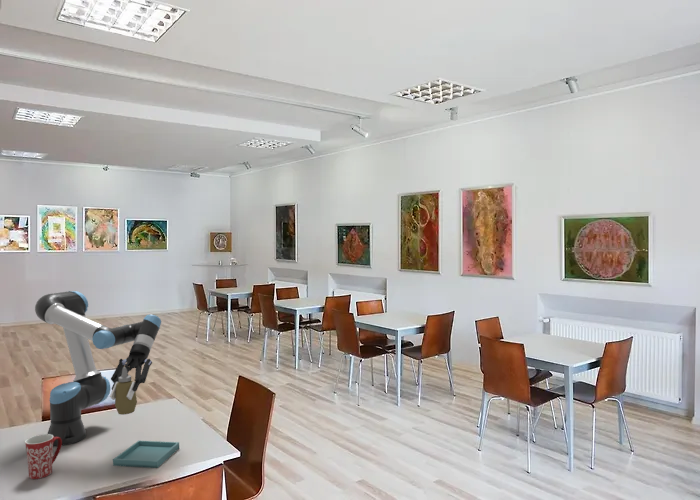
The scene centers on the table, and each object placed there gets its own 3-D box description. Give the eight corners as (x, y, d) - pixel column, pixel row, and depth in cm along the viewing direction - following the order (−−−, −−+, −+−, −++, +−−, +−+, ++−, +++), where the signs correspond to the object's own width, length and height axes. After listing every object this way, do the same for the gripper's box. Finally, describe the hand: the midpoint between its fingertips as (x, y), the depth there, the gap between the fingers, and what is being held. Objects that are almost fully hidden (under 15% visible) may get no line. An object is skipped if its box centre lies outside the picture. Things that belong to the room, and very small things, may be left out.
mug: (34, 482, 179) (33, 445, 179) (20, 477, 184) (19, 440, 183) (69, 468, 190) (68, 433, 190) (55, 463, 195) (54, 429, 195)
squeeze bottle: (112, 413, 200) (109, 368, 200) (132, 407, 206) (130, 364, 205) (120, 417, 194) (118, 371, 194) (140, 411, 200) (138, 367, 200)
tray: (112, 465, 192) (112, 459, 192) (138, 446, 210) (138, 440, 210) (157, 468, 190) (156, 461, 190) (179, 448, 208) (179, 442, 208)
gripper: (166, 352, 214) (147, 402, 198) (124, 352, 216) (102, 402, 200) (159, 342, 208) (139, 393, 192) (116, 343, 211) (93, 393, 195)
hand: (120, 398), depth 196 cm, fingers closed on squeeze bottle, 6 cm apart
